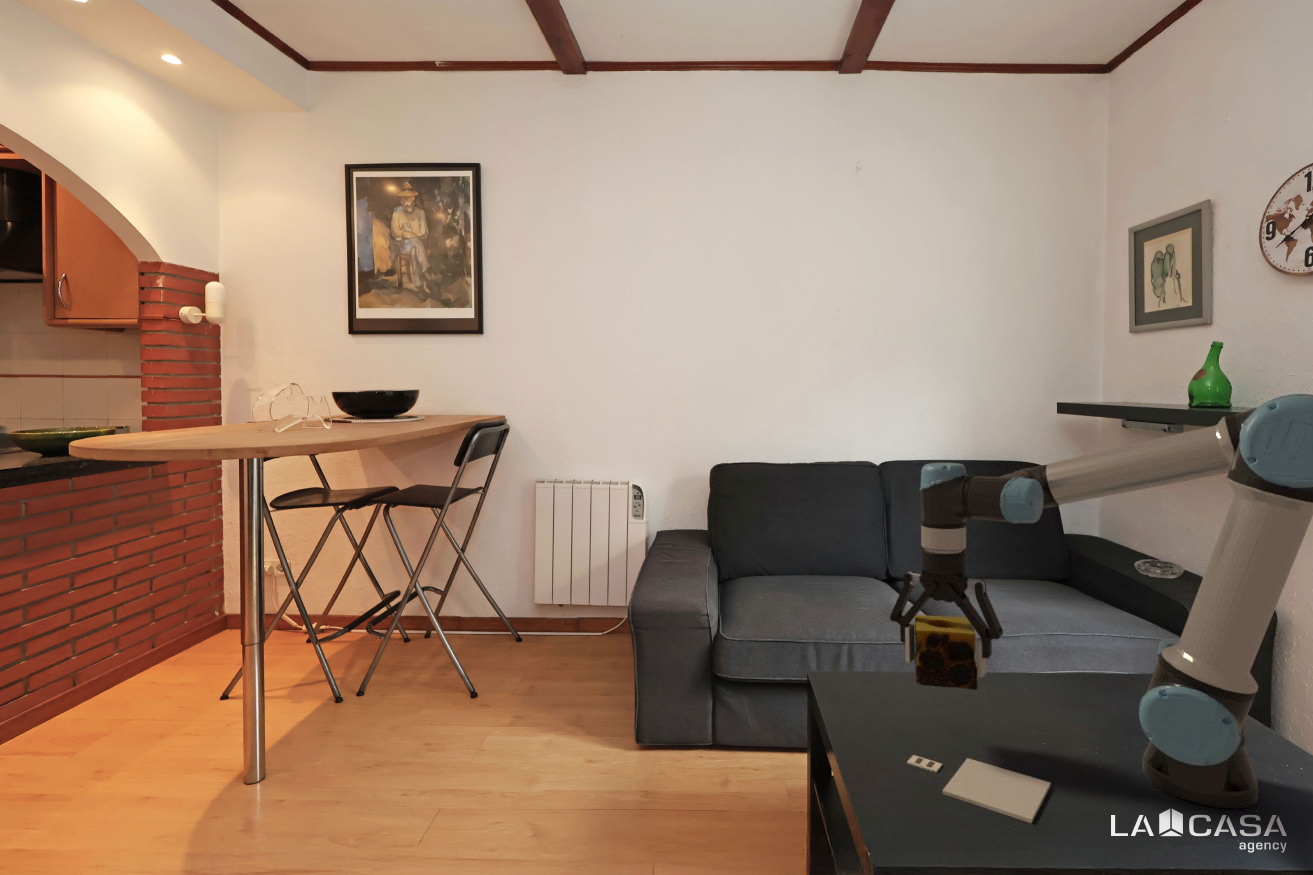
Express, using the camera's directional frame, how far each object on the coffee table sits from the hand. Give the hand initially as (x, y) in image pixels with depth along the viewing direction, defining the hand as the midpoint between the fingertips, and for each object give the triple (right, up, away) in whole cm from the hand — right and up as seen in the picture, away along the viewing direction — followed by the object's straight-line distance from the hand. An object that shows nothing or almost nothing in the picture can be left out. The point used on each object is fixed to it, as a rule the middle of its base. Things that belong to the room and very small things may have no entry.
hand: (944, 667), depth 132 cm
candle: (0, -2, 0) cm, 2 cm away
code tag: (-6, -15, -6) cm, 17 cm away
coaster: (+3, -15, -14) cm, 21 cm away
